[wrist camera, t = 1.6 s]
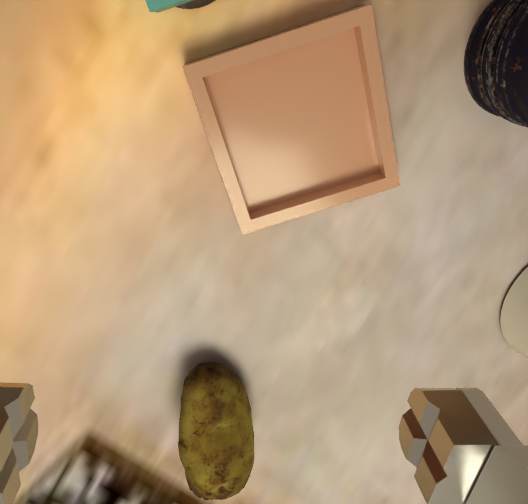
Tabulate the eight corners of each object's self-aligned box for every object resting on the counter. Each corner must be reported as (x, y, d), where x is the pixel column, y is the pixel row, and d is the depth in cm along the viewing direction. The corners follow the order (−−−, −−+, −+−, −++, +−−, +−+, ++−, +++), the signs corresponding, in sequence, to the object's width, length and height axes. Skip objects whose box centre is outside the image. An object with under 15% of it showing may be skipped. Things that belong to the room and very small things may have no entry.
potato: (271, 359, 45) (281, 423, 38) (242, 447, 50) (246, 517, 43) (188, 347, 43) (183, 412, 36) (168, 440, 49) (159, 511, 42)
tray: (362, 5, 31) (371, 4, 29) (390, 177, 37) (400, 185, 35) (184, 64, 32) (182, 66, 30) (241, 223, 38) (242, 234, 36)
